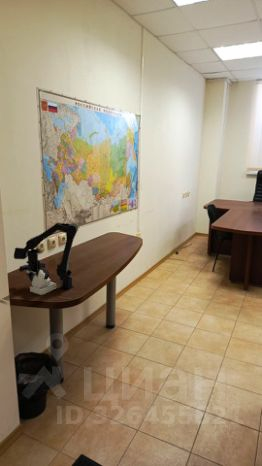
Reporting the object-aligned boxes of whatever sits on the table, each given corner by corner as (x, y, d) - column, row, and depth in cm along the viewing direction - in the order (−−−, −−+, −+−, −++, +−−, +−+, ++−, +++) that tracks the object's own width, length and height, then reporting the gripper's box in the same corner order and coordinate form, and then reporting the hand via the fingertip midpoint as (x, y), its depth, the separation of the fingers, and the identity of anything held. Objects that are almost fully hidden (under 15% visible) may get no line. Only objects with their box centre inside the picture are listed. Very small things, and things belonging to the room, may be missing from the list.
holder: (56, 288, 187) (56, 283, 187) (41, 295, 177) (41, 290, 177) (45, 284, 192) (45, 280, 191) (30, 291, 182) (29, 286, 181)
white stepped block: (41, 280, 189) (46, 266, 184) (48, 288, 186) (53, 274, 181) (31, 284, 184) (36, 269, 178) (37, 292, 181) (43, 277, 175)
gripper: (54, 258, 187) (55, 283, 190) (32, 253, 196) (33, 277, 199) (40, 263, 177) (41, 289, 181) (17, 257, 187) (19, 282, 190)
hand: (33, 284), depth 188 cm, fingers closed
